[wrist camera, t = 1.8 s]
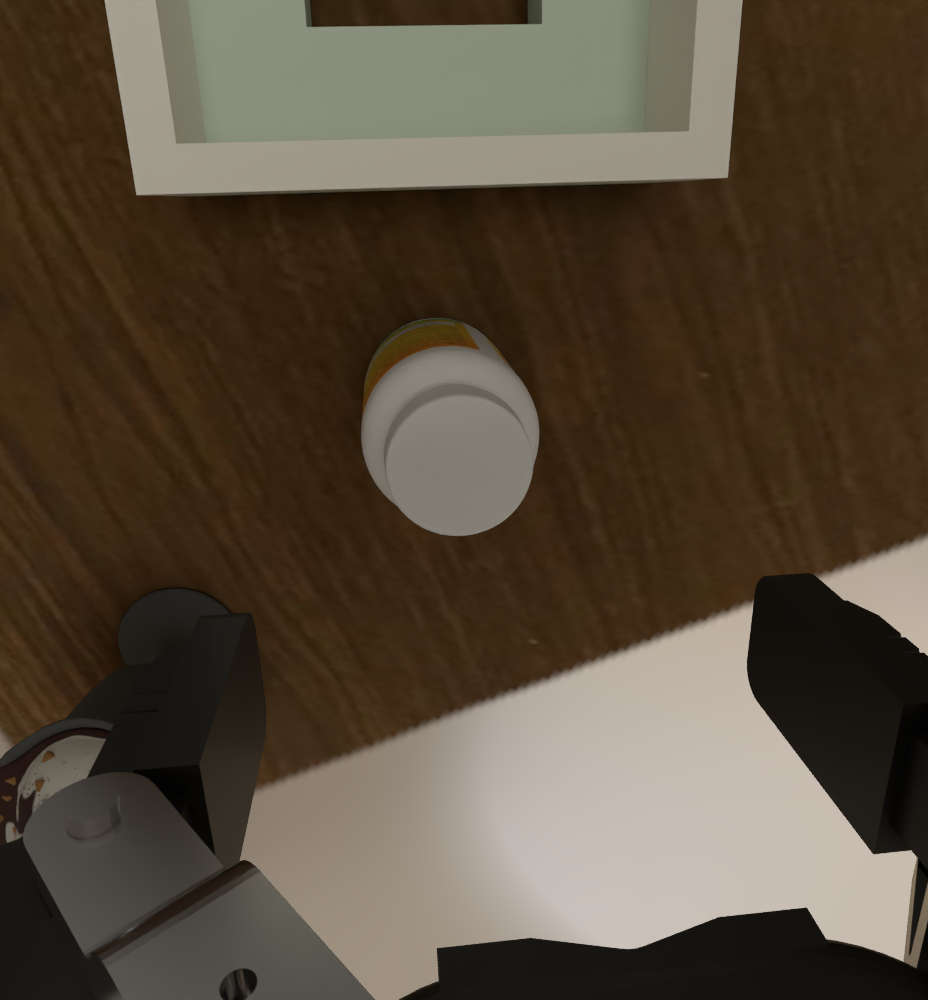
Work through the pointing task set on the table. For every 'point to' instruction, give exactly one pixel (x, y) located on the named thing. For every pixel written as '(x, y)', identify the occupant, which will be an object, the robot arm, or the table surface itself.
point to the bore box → (423, 97)
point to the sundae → (95, 707)
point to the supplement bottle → (448, 427)
